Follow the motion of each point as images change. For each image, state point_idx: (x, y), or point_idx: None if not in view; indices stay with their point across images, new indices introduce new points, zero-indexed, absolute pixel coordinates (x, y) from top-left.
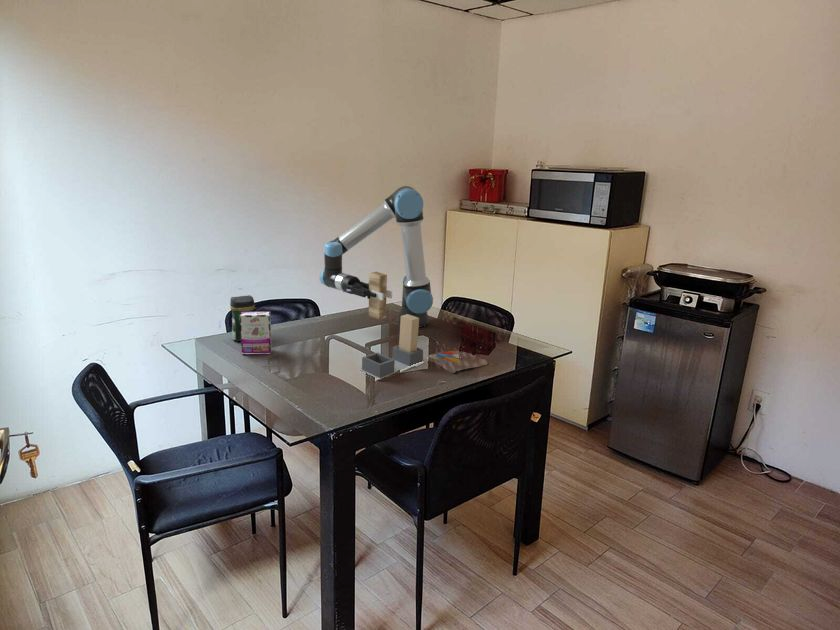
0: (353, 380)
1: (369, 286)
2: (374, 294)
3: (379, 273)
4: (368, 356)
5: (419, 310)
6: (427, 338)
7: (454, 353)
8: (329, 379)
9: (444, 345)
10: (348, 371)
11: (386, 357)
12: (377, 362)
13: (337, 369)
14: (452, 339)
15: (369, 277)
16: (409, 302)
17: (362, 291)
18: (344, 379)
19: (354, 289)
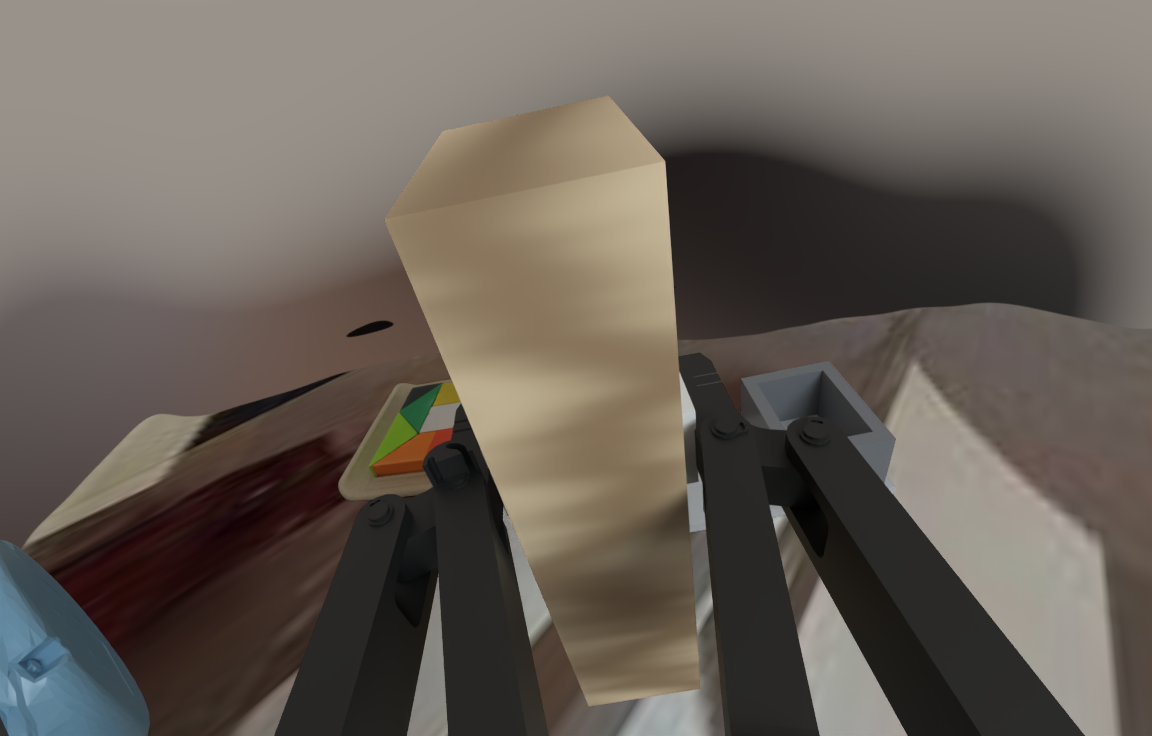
0: (946, 445)
1: (681, 427)
2: (700, 358)
3: (480, 152)
4: (855, 436)
5: (133, 681)
6: (260, 712)
7: (427, 438)
8: (1093, 490)
9: (319, 573)
10: (960, 526)
11: (764, 404)
12: (831, 380)
13: (1036, 574)
14: (211, 618)
15: (670, 268)
16: (113, 698)
17: (851, 447)
18: (996, 465)
19: (1022, 675)
